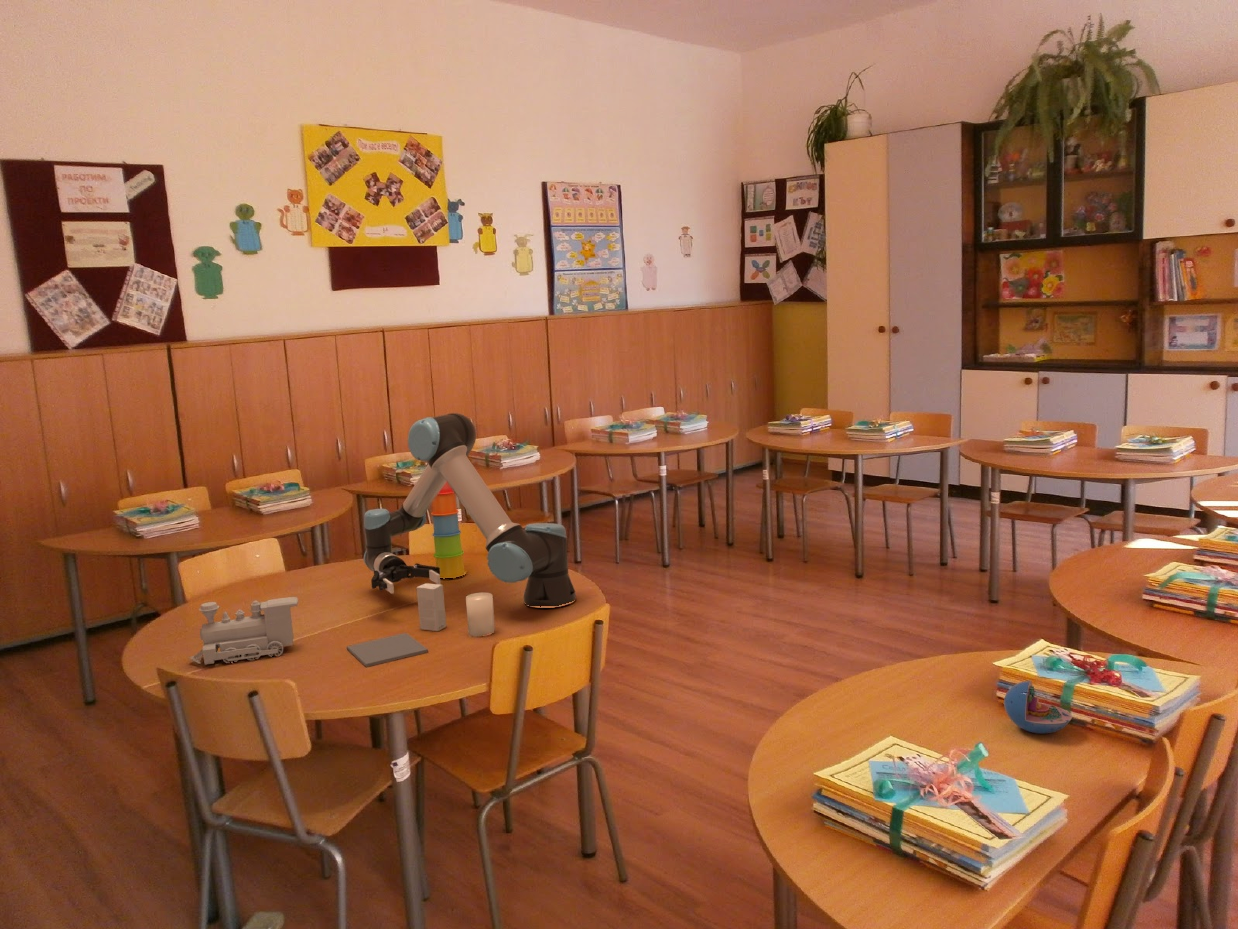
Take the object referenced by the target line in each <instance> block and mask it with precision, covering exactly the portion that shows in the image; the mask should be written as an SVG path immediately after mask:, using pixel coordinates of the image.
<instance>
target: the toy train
mask: <svg viewBox="0 0 1238 929" xmlns="http://www.w3.org/2000/svg"><path fill="white" fill-rule="evenodd" d="M298 606H299V598H298V597H296V596H288V597H281V598H274V599H273V598H272V599H268V600H267V601H261V602H259V601H258V600H253V601H252V603H251V604H250V610H249V612H250V613H251V615H250V616H249V615H248V616H244V615H245V614H246V613H245V611H243V610H242V609H238V610H237V611H236V612H235V614H234V615H235V616H236V618H234V619H231V617H230V616H229V614H228V612H226V611H224V612H223V613H222V618H221V621H215V616H216V614H217V611H218V609H220V605H218V604H217V602H215V601H209V602H205V603H201V604H200V608H199V609H198V611H199V612H200V613H201V614H202V615H203V616H204V617H205V618H206V619H207V620H206V621H207V623H202V624H201V628H200V629H199V636H200V637H199V638H200V640H202V643H203V646H202V648H201V650H200V651H199V652H197V653H196V654H195V655H192V656H189V657H188V659H189V660H191V661H193V662H195V663H197V664H199V665H201V664H202V663H201V659H202V658H203V662H204V665H210V664H215V661H220V660H222V661H223V662H224V663H226V664H227V663H230V662H233V661H234V662H236V663H237V662H238V661H239V660H246V659H247V660H248V661H255V660H254V658H255V659H257V660H258V659H260V657H261V656H265V655H267V656H269V657H271V658H273V657H272V656H273V655H275V656H276V655H277V656H278V657H280V656H281V655H282V654H283V652H284V647H285V646H286V647H287V646H293V645H294V644H295V643H294V631H293V630H294V629H293V623H292V622H293V620H292V619H293V618H292V612H291V611H292V610H291V608H294V607H298ZM262 612H263V613H262ZM219 650H220V651H219ZM240 655H241V656H240Z"/></svg>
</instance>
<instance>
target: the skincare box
mask: <svg viewBox="0 0 1238 929" xmlns="http://www.w3.org/2000/svg"><path fill="white" fill-rule="evenodd" d="M416 596H417V605H418V606H417V608H418V618H419V629H420V630H422V631H431V632H432V631H433V632H439V631H441V630H443V629H445V628H446V627H447V617H446V608H445V607H446V606H445V596H444V585H443V584H436V583H426V582H425V583H424V584H421V585H418V586H417V587H416Z"/></svg>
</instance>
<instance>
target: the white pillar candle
mask: <svg viewBox="0 0 1238 929" xmlns="http://www.w3.org/2000/svg"><path fill="white" fill-rule="evenodd" d="M493 597H494V596H493V594H492V593H490V592H474V593H471V594H470V593H469V594H467V596H465V603H466V604H465V605H466V616H467V617H466V618H467V631H468V636H470V637H472V636H473V638H478V637H477V636H483V635H487V634H489V633H493V632H494V631H495V632H496V627H495V626H496V624H495V613H494V612H495V611H494V598H493Z"/></svg>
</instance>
